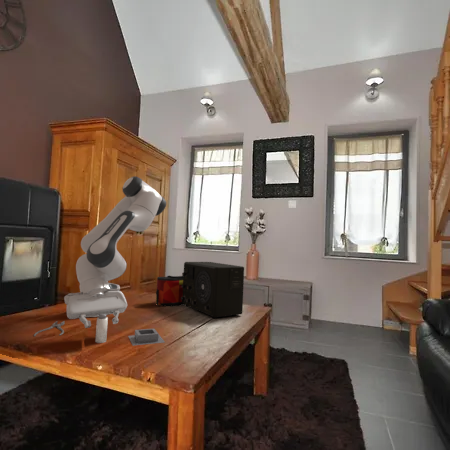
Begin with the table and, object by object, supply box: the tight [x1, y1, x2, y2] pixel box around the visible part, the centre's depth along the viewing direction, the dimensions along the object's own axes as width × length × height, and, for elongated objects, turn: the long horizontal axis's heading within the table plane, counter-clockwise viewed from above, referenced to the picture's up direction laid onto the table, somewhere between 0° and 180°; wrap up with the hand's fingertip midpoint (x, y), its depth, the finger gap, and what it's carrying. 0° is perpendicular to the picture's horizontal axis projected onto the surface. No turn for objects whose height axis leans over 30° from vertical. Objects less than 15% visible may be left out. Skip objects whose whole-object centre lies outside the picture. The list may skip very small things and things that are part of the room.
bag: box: [155, 275, 185, 307], centre depth 180 cm, size 30×14×16 cm, turn 132°
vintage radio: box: [181, 261, 245, 319], centre depth 165 cm, size 38×20×25 cm, turn 34°
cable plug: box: [95, 314, 109, 344], centre depth 105 cm, size 4×4×9 cm
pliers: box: [33, 320, 65, 337], centre depth 119 cm, size 10×1×20 cm
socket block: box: [128, 328, 166, 346], centre depth 109 cm, size 11×11×4 cm
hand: (102, 324), depth 104 cm, fingers open, 8 cm apart
